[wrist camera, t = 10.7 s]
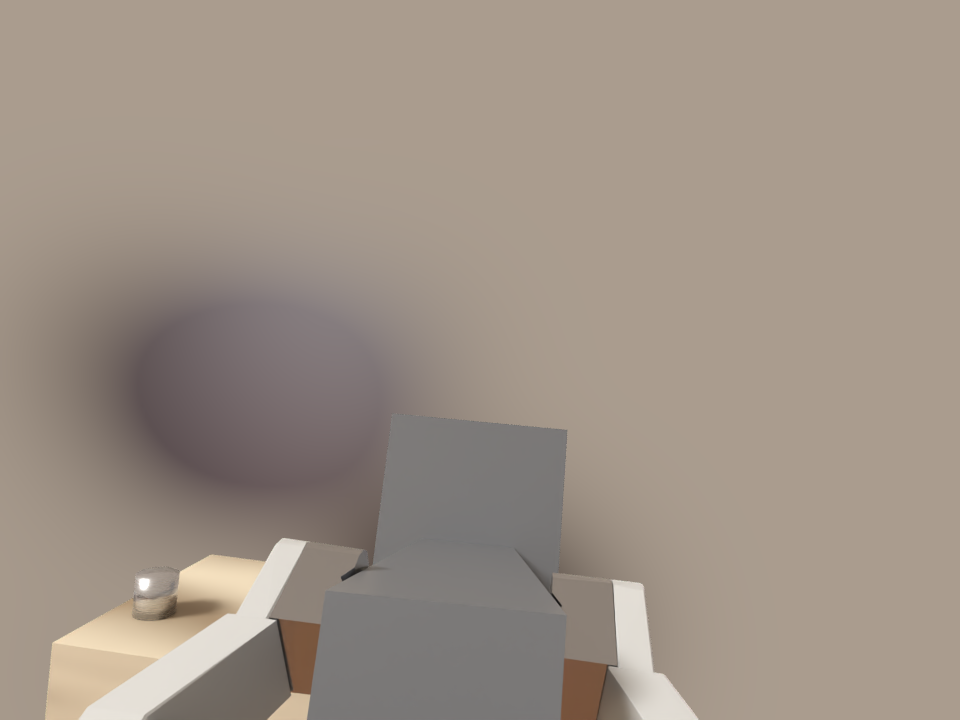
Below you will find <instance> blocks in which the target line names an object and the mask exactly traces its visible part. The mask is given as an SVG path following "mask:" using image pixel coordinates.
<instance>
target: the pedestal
mask: <svg viewBox="0 0 960 720" xmlns="http://www.w3.org/2000/svg"><path fill="white" fill-rule="evenodd" d="M264 564H265V561H257V560H249V559H242V558H234V557H226V556H219V555H210V556H208V557H206V558H204V559H203V560H201V561H199V562H197V563H195V564H193V565H192V566H190V567H188V568H186V569H184V570H183V571H181V572H179V570H177V569H174V568H170V567H154V568H148V569H144V570H141V571H139V572H137V573H136V577H135V588H134V598H132V599H130V600H129V601H127V602H125V603H123V604H122V605H120V606H118V607H116V608H114V609H112V610H111V611H109V612H107V613H105V614H103V615H102V616H100V617H98V618H96V619H94V620H93V621H91V622H89V623H87V624H86V625H84V626H82V627H80V628H78V629H76V630H75V631H73V632H71V633H69V634H67V635H66V636H64V637H62V638H60V639H59V640H57V641H55V642H53V643H52V652H51V663H50V673H49V683H48V694H47V705H46V715H45V720H79V718H80V717H81V715H82V714H83V713H84V711H85V710H86V708H87V707H88V706H90V705H91V704H93V703H94V702H96V701H97V700H99V699H100V698H102V697H103V696H105V695H106V694H108V693H109V692H111V691H112V690H114V689H115V688H117V687H118V686H120V685H121V684H123V683H124V682H126V681H127V680H129V679H130V678H132V677H133V676H135V675H136V674H138V673H139V672H141V671H142V670H144V669H145V668H147V667H148V666H150V665H151V664H153V663H154V662H156V661H157V660H159V659H160V658H162V657H163V656H165V655H166V654H168V653H169V652H171V651H172V650H173V649H175V648H176V647H178V646H179V645H181V644H182V643H184V642H185V641H187V640H188V639H190V638H191V637H193V636H194V635H196V634H197V633H199V632H200V631H202V630H203V629H205V628H206V627H208V626H209V625H211V624H212V623H214V622H215V621H217V620H218V619H220V618H221V617H223V616H224V615H226V614H227V613H230V614H236V613H237V611H238V610H239V608H240V606H241V604H242V603H243V601H244V599H245V597H246V596H247V594H248V592H249V590H250V589H251V587H252V585H253V583H254V582H255V580H256V578H257V576H258V574H259V573H260V571H261V569H262V567H263V566H264ZM309 701H310V695H308V694H300V693H292V692H291V696H290V697H289V698H288V699H287V700H286V701H285V702H284V703H283V704H282V705H281V706H280V707H279V708H278V709H277V710H276V711H275V712H274V713H273V714H272V715H271V716H270V717H269V718H268V719H267V720H307V715H308V708H309Z"/></svg>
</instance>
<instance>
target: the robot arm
mask: <svg viewBox="0 0 960 720" xmlns="http://www.w3.org/2000/svg"><path fill="white" fill-rule="evenodd" d="M368 565H369V563H368V555H367V551H365V550H362V549H356V548H348V547H342V546H336V545H329V544H322V543H316V542H307V541H300V540H294V539H287V538H282V539H281V540H280V541H279V542H278V543H277V544H276V545H275V546H274V548H273V550H272V552H271V553H270V555H269V557H268V559H267V560H266V562H265V564H264V566H263V567H262V569H261V571H260V573H259V574H258V576H257V578H256V580H255V582H254V583H253V585H252V587H251V589H250V590H249V592H248V594H247V596H246V597H245V599H244V601H243V603H242V604H241V606H240V608H239V610H238V611H237V613H236V614H230V613H227V614H226V615H224V616H223V617H221V618H220V619H218V620H217V621H215V622H214V623H212V624H211V625H209V626H208V627H206V628H205V629H203V630H202V631H200V632H199V633H197V634H196V635H194V636H193V637H191V638H190V639H188V640H187V641H185V642H184V643H182V644H181V645H179V646H178V647H176V648H175V649H173V650H172V651H171V652H169V653H168V654H166V655H165V656H163V657H162V658H160V659H159V660H157V661H156V662H154V663H153V664H151V665H150V666H148V667H147V668H145V669H144V670H142V671H141V672H139V673H138V674H136V675H135V676H133V677H132V678H130V679H129V680H127V681H126V682H124V683H123V684H121V685H120V686H118V687H117V688H115V689H114V690H112V691H111V692H109V693H108V694H106V695H105V696H103V697H102V698H100V699H99V700H97V701H96V702H94V703H93V704H91V705H90V706H88V707H87V708H86V710H85V711H84V713H83V714H82V715H81V717H80V718H79V720H267V719H268V718H269V717H270V716H271V715H272V714H273V713H274V712H275V711H276V710H277V709H278V708H279V707H280V706H281V705H282V704H283V703H284V702H285V701H286V700H287V699H288V698H289V697H290V696H291V692H292V693H300V694H308V695H310V694H311V687H312V680H313V673H314V667H315V660H316V653H317V646H318V639H319V632H320V625H321V618H322V611H323V604H324V597H325V590H327V589H329V588H331V587H333V586H335V585H337V584H339V583H340V582H342V581H344V580H346V579H348V578H350V577H352V576H353V575H355V574H357V573H359V572H361V571H363V570H365V569H367V568H368ZM550 594H551V596H552V597H553V598H554V600H555V601H556V602H557V603H558V605H559V606H560V607H561V608H562V610H563V611H564V612H565V614H566V615H567V620H566V637H565V654H564V670H563V687H562V704H561V720H699V719H698V718H697V716H696V715H695V714H694V712H693V711H692V710H691V708H690V707H689V706H688V704H687V703H686V702H685V701H684V699H683V698H682V697H681V695H680V694H679V693H678V691H677V690H676V689H675V687H674V686H673V685H672V683H671V682H670V681H669V680H668V679H667V677H666V676H665V674H660V673H655V669H654V661H653V653H652V645H651V636H650V628H649V621H648V612H647V604H646V595H645V588H644V587H643V585H642V583H636V582H627V581H619V580H610V579H605V578H596V577H587V576H578V575H569V574H561V573H552V578H551V585H550Z"/></svg>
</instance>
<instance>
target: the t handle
mask: <svg viewBox="0 0 960 720" xmlns="http://www.w3.org/2000/svg"><path fill="white" fill-rule="evenodd" d="M566 444H567V430H561V429H551V428H540V427H528V426H519V425H509V424H498V423H487V422H476V421H467V420H456V419H445V418H435V417H424V416H413V415H403V414H392V420H391V428H390V435H389V443H388V451H387V459H386V466H385V474H384V482H383V490H382V498H381V505H380V513H379V521H378V529H377V537H376V545H375V552H374V560H373V565H372V566H371V567H368V568H367V569H365V570H363V571H361V572H359V573H357V574H355V575H353V576H352V577H350V578H348V579H346V580H344V581H342V582H340V583H339V584H337V585H335V586H333V587H331V588H329V589H327V590H325V597H324V604H323V611H322V618H321V625H320V632H319V639H318V646H317V653H316V660H315V667H314V673H313V680H312V687H311V694H310V701H309V708H308V715H307V720H561V704H562V687H563V670H564V654H565V637H566V620H567V615H566V614H565V612H564V611H563V610H562V608H561V607H560V606H559V605H558V603H557V602H556V601H555V600H554V598H553V597H552V596H551V594H550V585H551V578H552V573H558V570H559V553H560V538H561V522H562V506H563V491H564V475H565V459H566Z"/></svg>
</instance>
